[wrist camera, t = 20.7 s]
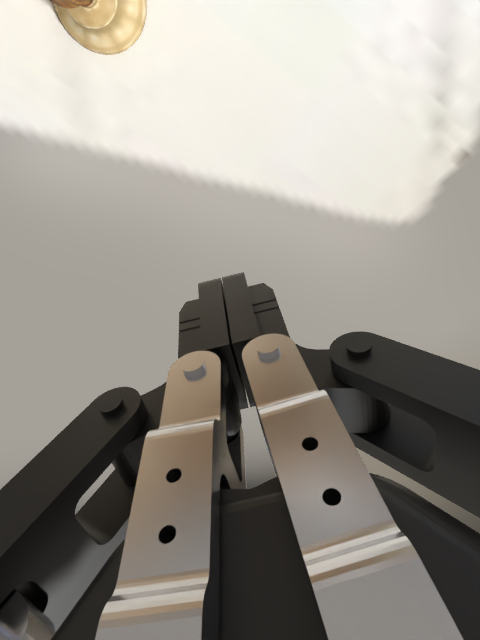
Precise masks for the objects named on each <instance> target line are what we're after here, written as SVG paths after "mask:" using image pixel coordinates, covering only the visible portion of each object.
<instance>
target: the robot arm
mask: <svg viewBox="0 0 480 640" xmlns="http://www.w3.org/2000/svg"><path fill="white" fill-rule="evenodd" d="M222 280H223V284H222V281H221V278H218V279H214V280H211V281H206V282H202V283H199V284H198V288H199V299H197V300H193V301H188V302H186V303H185V304H184V306H183V308H182V309H181V311H180V312H179V347H178V348H179V349H178V360H176V362H174V363H173V365H172V366H171V367H170V369H169V372H168V377H167V382H165V383H164V384H163V385H161V386H160V387H158V388H156V389H154V390H152V391H150V392H148V393H146V394H144V395H142V396H140V394H139V393H138V391H136V390H135V389H133V388H130V387H119V388H115V389H112V390H109V391H107V392H105V393H103V394H102V395H100V396H99V397H98V398H96V399H95V400H94V401H93V402H92V403H91V404H90V405H89V406H88V407H87V408H86V409H85V410H84V411H83V412H82V413H81V414H80V415H79V416H77V417H76V418H75V419H74V420H73V421H72V422H71V423H70V424H69V425H68V426H67V427H66V428H65V429H64V430H63V431H62V432H61V433H60V434H58V435H57V436H56V437H55V438H54V439H53V440H52V441H51V442H50V443H49V444H48V445H47V446H46V447H45V448H44V449H43V450H42V451H41V452H40V453H38V455H36V456H35V457H34V458H33V459H32V460H31V461H30V462H29V463H28V464H27V465H26V466H25V467H24V468H23V469H22V470H21V471H20V472H19V473H17V474H16V476H14V477H13V478H12V479H11V480H10V481H9V482H8V483H7V484H6V485H5V486H4V487H3V488H2V489H1V490H0V640H480V534H479V533H478V532H476V531H475V530H473V529H471V528H470V527H468V526H467V525H465V524H463V523H462V522H460V521H459V520H457V519H456V518H454V517H452V516H451V515H449V514H448V513H446V512H444V511H443V510H441V509H440V508H438V507H436V506H435V505H433V504H432V503H430V502H428V501H427V500H425V499H424V498H422V497H421V496H419V495H417V494H416V493H414V492H413V491H411V490H409V489H408V488H406V487H404V486H403V485H401V484H398V483H396V482H394V481H392V480H390V479H387V478H385V477H381V476H379V475H375V474H371V473H369V472H368V470H367V468H366V466H365V464H364V463H363V461H362V459H361V457H360V455H359V453H358V451H357V449H356V447H357V448H358V449H360V450H362V451H364V452H365V453H367V454H369V455H371V456H372V457H374V458H376V459H378V460H380V461H381V462H383V463H385V464H386V465H388V466H390V467H392V468H393V469H395V470H397V471H399V472H400V473H402V474H404V475H406V476H407V477H409V478H411V479H413V480H414V481H416V482H418V483H420V484H422V485H424V486H425V487H427V488H428V489H430V490H432V491H434V492H435V493H437V494H439V495H441V496H443V497H444V498H446V499H448V500H450V501H451V502H453V503H455V504H457V505H458V506H460V507H462V508H464V509H465V510H467V511H469V512H471V513H473V514H474V515H476V516H478V517H479V518H480V370H478V369H475V368H472V367H469V366H466V365H463V364H460V363H457V362H454V361H452V360H449V359H445V358H443V357H440V356H437V355H434V354H431V353H428V352H426V351H423V350H420V349H417V348H414V347H411V346H408V345H405V344H402V343H400V342H396V341H394V340H391V339H388V338H385V337H382V336H379V335H376V334H373V333H369V332H351V333H347V334H344V335H342V336H340V337H338V338H337V339H336V340H334V341H333V343H332V344H331V346H330V349H329V350H314V349H307V348H303V347H301V346H299V345H297V344H295V343H294V341H293V340H292V339H291V338H290V336H289V334H288V331H287V328H286V325H285V323H284V320H283V317H282V314H281V311H280V309H279V306H278V303H277V301H276V297H275V294H274V292H273V289H271V288H270V287H268V286H267V285H266V284H264V283H261V284H258V285H254V286H249V287H247V283H246V279H245V275H244V272H243V273H238V274H234V275H230V276H226V277H222ZM223 287H224V288H223ZM245 390H246V392H245ZM246 393H247V396H248V400H249V403H250V407H252V406H256V409H257V413H258V416H259V420H260V424H261V427H262V430H263V434H264V437H265V441H266V444H267V447H268V451H269V454H270V457H271V461H272V464H273V467H274V471H275V474H276V477H275V478H273V479H271V480H269V481H267V482H265V483H263V484H261V485H259V486H257V487H254V488H251V489H246V475H245V455H244V436H243V430H242V426H241V413H240V409H244V408H248V403H247V398H246ZM111 463H112V464H113V465H114V467H115V470H114V471H113V472H112V474H111V475H110V476H109V477H108V478H107V479H106V480H105V482H104V483H103V484H102V485H101V486H100V487H99V489H98V490H97V491H96V492H95V493H94V494H93V495H92V497H91V498H90V499H89V500H88V501H87V502H86V504H85V505H84V506H83V507H82V508H81V509H80V510H79V511H78V513H77V514H76V515H75V508H76V505H77V503H78V501H79V499H80V498H81V497H82V495H83V494H84V493H85V492H86V491H87V490H88V489H89V487H90V486H91V485H92V484H93V483H94V482H95V481H96V480H97V478H98V477H99V476H100V475H101V474H102V473H103V471H104V470H105V469H106V468H107V467H108V466H109V465H110V464H111Z"/></svg>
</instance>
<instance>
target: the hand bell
mask: <svg viewBox="0 0 480 640" xmlns="http://www.w3.org/2000/svg"><path fill="white" fill-rule="evenodd" d="M51 1H52V2H53V3H54V6H55V9H56V12H57V14H58V17H59V19H60V21H61V23H62V24H63V26H64V27H65V29H66V30H67V32H68V33H69V34H70V35H71V36H72V37H73V38H74V39H75V40H76V41H77V42H78V43H79V44H80V45H82V46H83V47H85V48H87V49H88V50H90V51H93V52H95V53H99V54H105V55H111V54H117V53H120V52H123V51H125V50H127V49H128V48H129V47H131V46H132V45H133V44H134V43H135V42H136V41H137V39H138V38H139V36H140V34H141V32H142V30H143V27H144V24H145V19H146V11H147V7H146V0H51Z"/></svg>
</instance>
